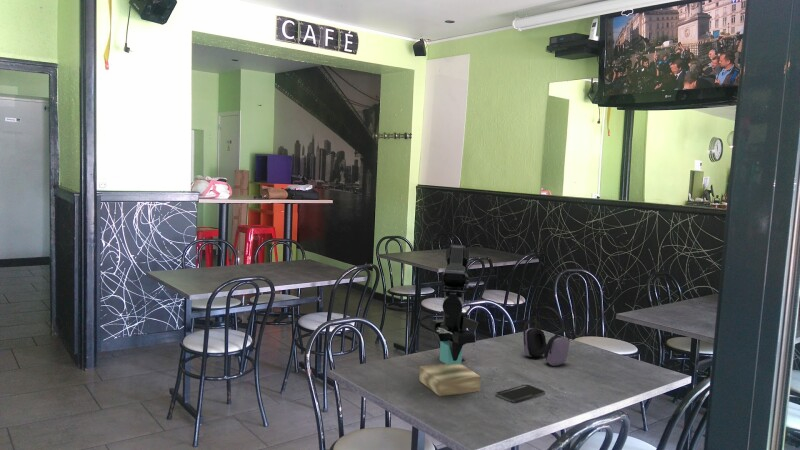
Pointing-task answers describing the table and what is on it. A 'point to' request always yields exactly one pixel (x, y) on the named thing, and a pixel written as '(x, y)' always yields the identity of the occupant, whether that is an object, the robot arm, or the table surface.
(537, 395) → the phone
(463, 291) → the robot arm
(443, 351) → the teal cube
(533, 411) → the table surface
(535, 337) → the headphones
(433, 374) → the oak box
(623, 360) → the table surface
